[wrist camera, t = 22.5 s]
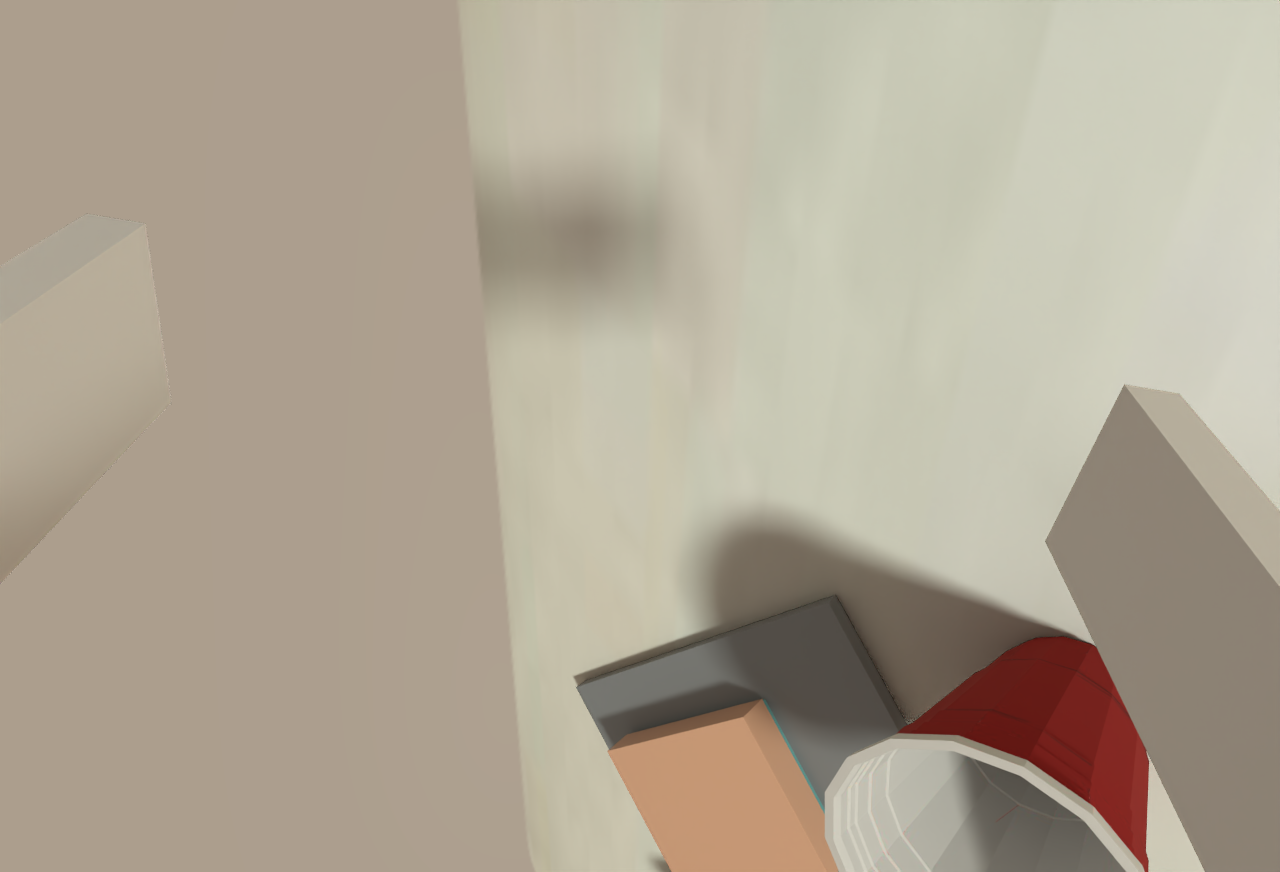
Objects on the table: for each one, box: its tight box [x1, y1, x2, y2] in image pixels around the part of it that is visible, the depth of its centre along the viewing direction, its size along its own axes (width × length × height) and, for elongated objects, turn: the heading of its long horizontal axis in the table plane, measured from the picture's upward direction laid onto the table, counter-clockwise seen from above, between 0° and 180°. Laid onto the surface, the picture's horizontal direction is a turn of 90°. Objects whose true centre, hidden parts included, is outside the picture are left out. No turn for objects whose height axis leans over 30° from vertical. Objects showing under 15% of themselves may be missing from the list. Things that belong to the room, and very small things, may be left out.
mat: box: [576, 595, 907, 872], centre depth 50 cm, size 16×20×1 cm
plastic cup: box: [825, 636, 1149, 872], centre depth 34 cm, size 11×11×12 cm
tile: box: [608, 699, 839, 872], centre depth 50 cm, size 9×2×11 cm
